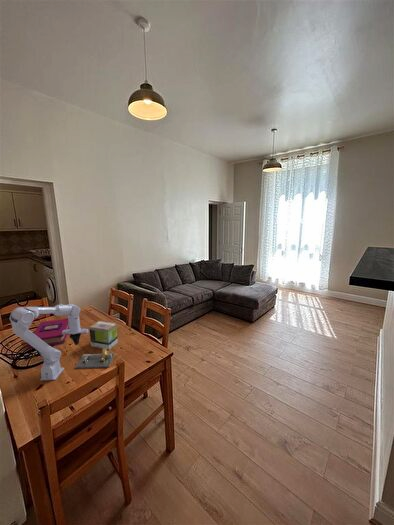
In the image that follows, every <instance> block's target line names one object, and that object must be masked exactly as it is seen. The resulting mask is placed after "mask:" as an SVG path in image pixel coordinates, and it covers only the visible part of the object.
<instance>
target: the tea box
mask: <svg viewBox="0 0 394 525" xmlns="http://www.w3.org/2000/svg"><path fill="white" fill-rule="evenodd" d="M89 337H90V346H91V347H93V348H94V347H95V348H99V349H103V348H106V350H111V349H112V348H113V347H115V346H116V344H118V343H119V340H118V326H117V323H115V322H108V321H102V320H99V321H97V322H95V323H94V324H92V325H90V326H89Z"/></svg>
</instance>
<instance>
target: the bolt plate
mask: <svg viewBox="0 0 394 525" xmlns="http://www.w3.org/2000/svg"><path fill="white" fill-rule="evenodd" d="M114 358H115V354H114V353H112V357H111V358H105V360H104V361H101V358H91V359H87V361H86V362H83V357H82V356H81V358H80V359H79V361H78V362H77V363H76V364H75V369H92V368H93V369H95V368H99V369H100V368H110V366H111V364H112V362H113V360H114Z"/></svg>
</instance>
